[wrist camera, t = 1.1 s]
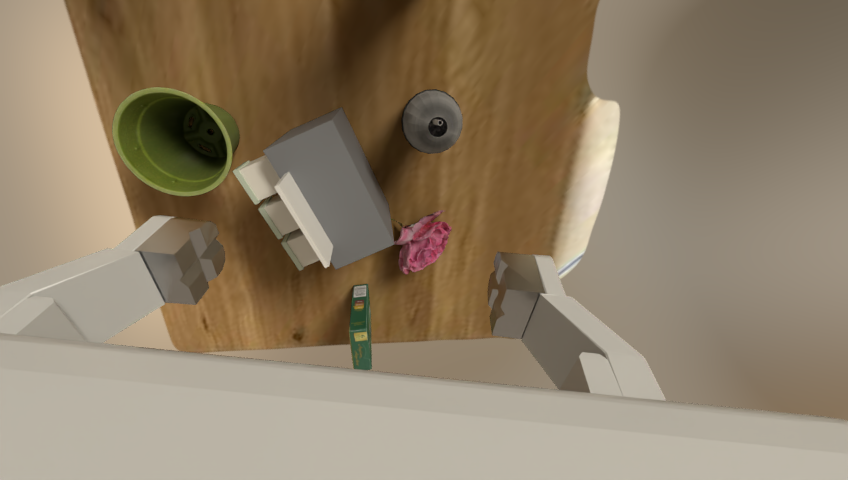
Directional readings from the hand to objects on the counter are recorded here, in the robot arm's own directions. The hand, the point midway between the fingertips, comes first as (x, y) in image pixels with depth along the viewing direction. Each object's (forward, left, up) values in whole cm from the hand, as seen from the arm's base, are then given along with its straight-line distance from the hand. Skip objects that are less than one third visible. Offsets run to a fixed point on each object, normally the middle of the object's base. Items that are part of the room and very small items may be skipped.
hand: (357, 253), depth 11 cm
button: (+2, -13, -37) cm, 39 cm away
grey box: (+7, -7, -46) cm, 46 cm away
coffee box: (+30, -15, -46) cm, 56 cm away
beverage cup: (+4, +7, -46) cm, 46 cm away
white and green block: (+7, -13, -37) cm, 40 cm away
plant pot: (-5, -21, -46) cm, 50 cm away
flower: (+21, 0, -46) cm, 50 cm away
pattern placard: (+7, -10, -31) cm, 33 cm away
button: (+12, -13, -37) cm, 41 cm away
